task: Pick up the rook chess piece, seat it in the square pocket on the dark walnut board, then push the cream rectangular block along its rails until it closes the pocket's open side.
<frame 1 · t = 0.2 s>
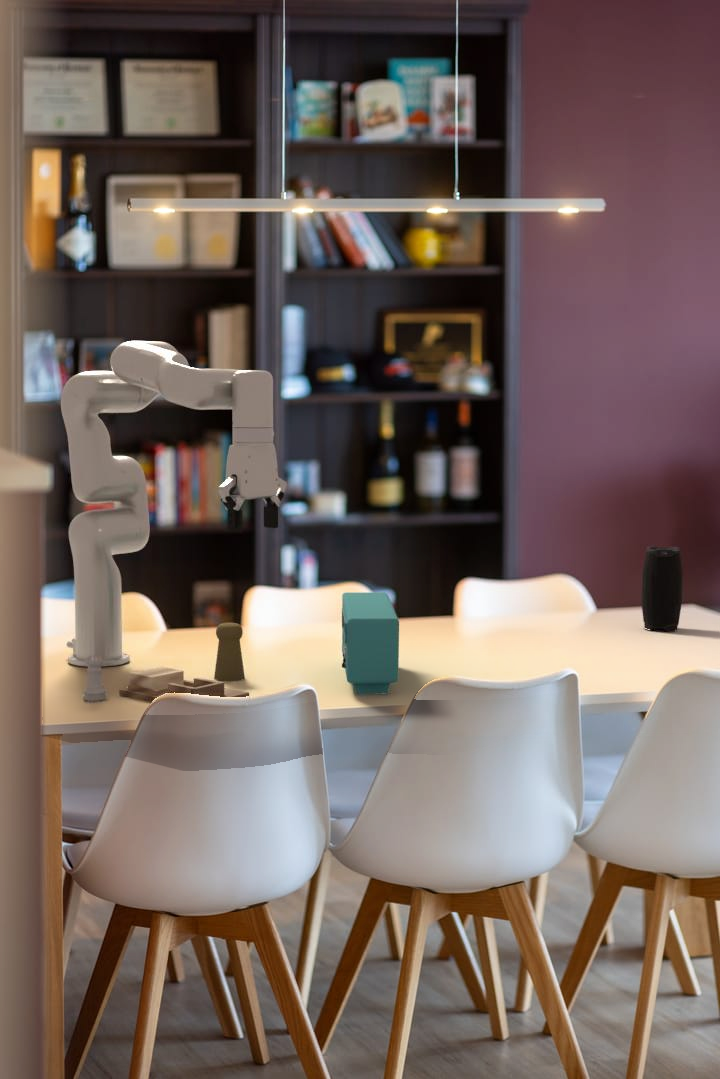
hand: (253, 529, 276), 31 cm above the table, fingers open, 9 cm apart
cork: (229, 679, 293), on the table
radio: (366, 680, 292), on the table
cream rectangular block: (156, 679, 278), point 3 cm above the table, slide at 0.0 cm
portable speaker: (660, 630, 352), on the table
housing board: (184, 697, 275), on the table
rook chess piece: (94, 700, 273), on the table
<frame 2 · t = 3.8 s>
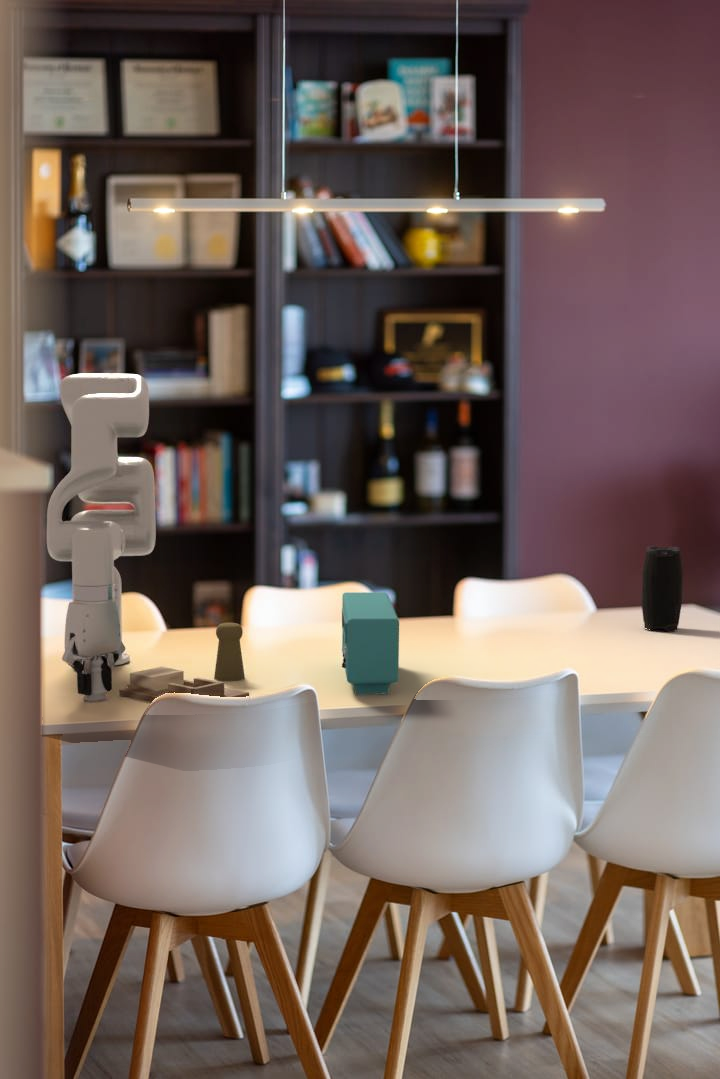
hand: (94, 691, 273), 2 cm above the table, fingers closed on rook chess piece, 4 cm apart
rook chess piece: (94, 700, 273), on the table, touching gripper
everything else where it was.
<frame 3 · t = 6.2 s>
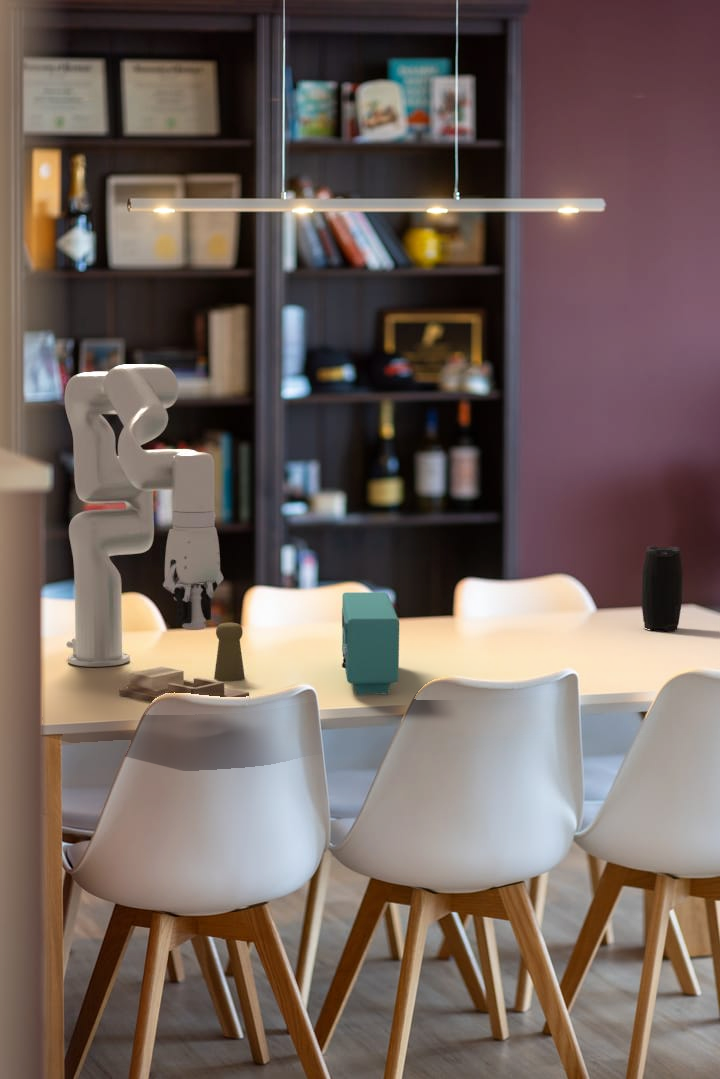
hand: (194, 619, 270), 15 cm above the table, fingers closed on rook chess piece, 4 cm apart
rook chess piece: (194, 629, 270), point 13 cm above the table, touching gripper
everything else where it was.
when the fingers open (4 cm above the table, at t = 8.5 s): rook chess piece drops 1 cm, resting on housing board.
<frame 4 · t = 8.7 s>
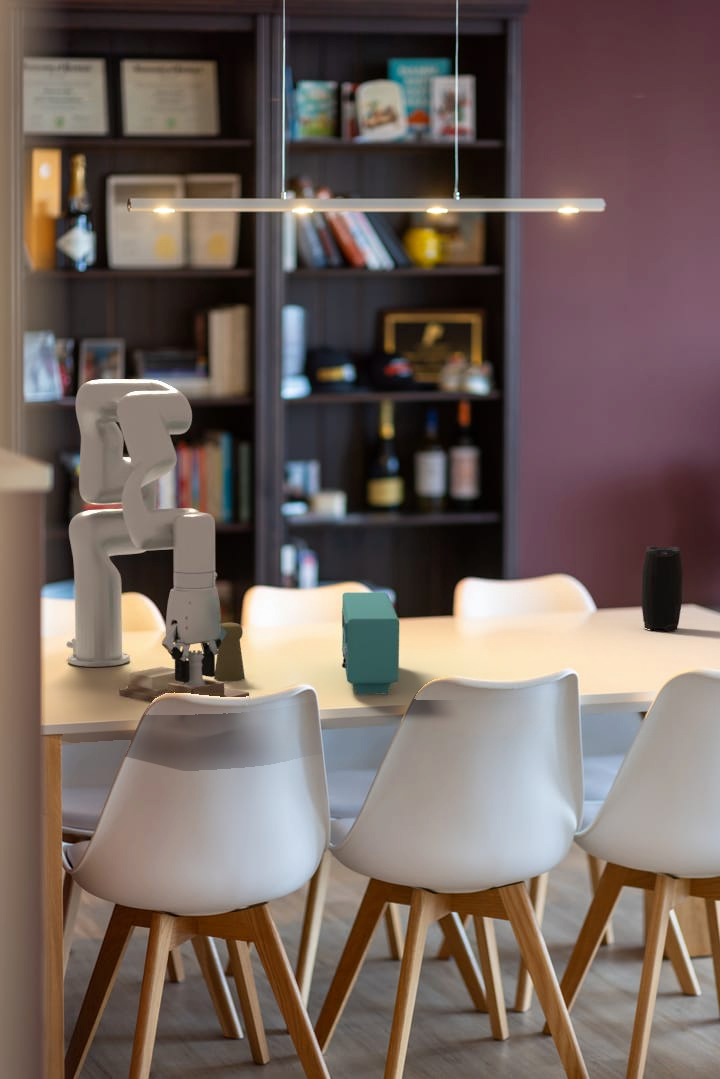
hand: (195, 677, 271), 4 cm above the table, fingers open, 5 cm apart
rook chess piece: (194, 695, 272), point 1 cm above the table, touching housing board
everything else where it was.
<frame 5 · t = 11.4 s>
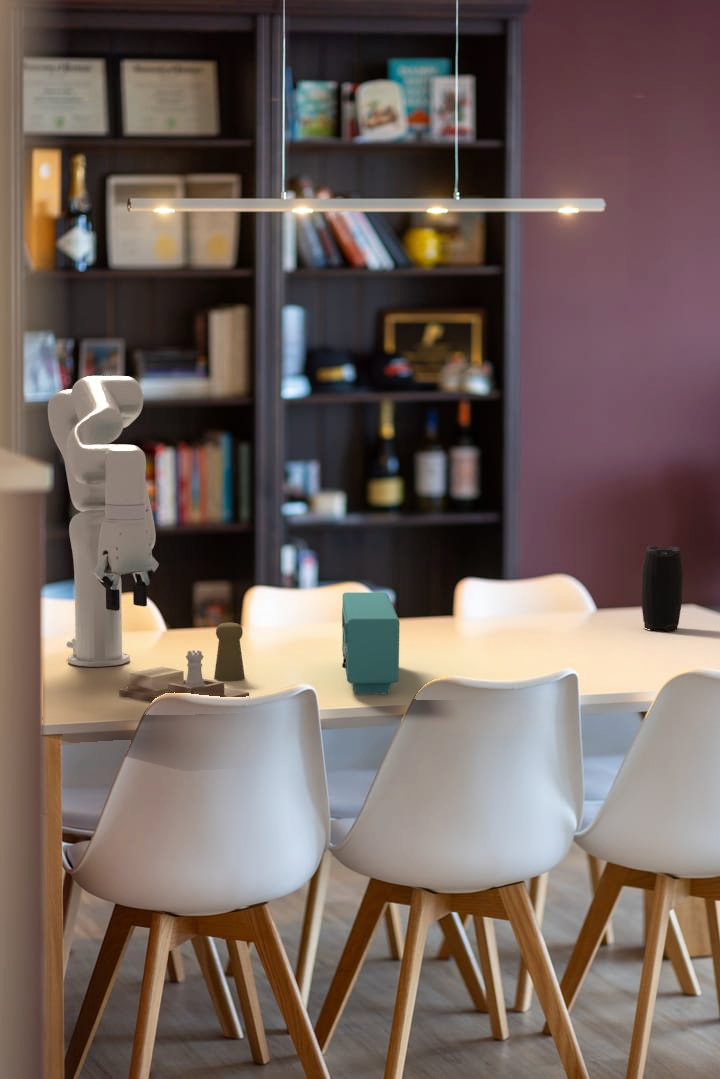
hand: (126, 606, 282), 16 cm above the table, fingers open, 6 cm apart
nothing on the table moved.
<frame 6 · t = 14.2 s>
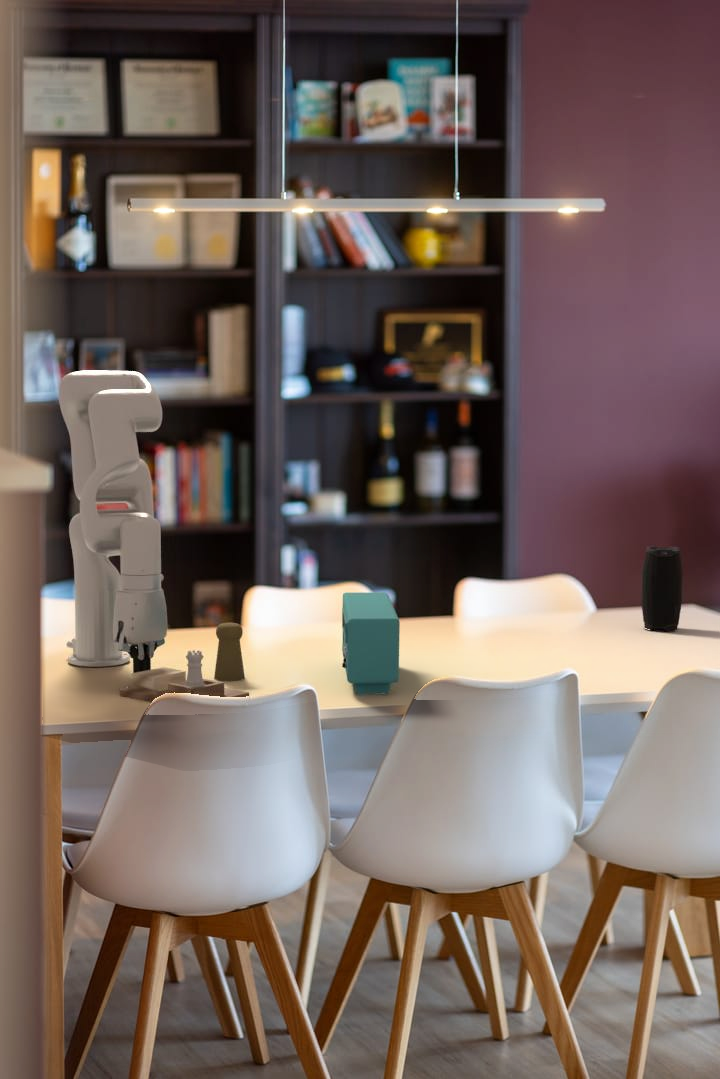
hand: (142, 678, 280), 2 cm above the table, fingers closed
cream rectangular block: (158, 679, 277), point 3 cm above the table, slide at 0.6 cm, touching gripper
everything else where it was.
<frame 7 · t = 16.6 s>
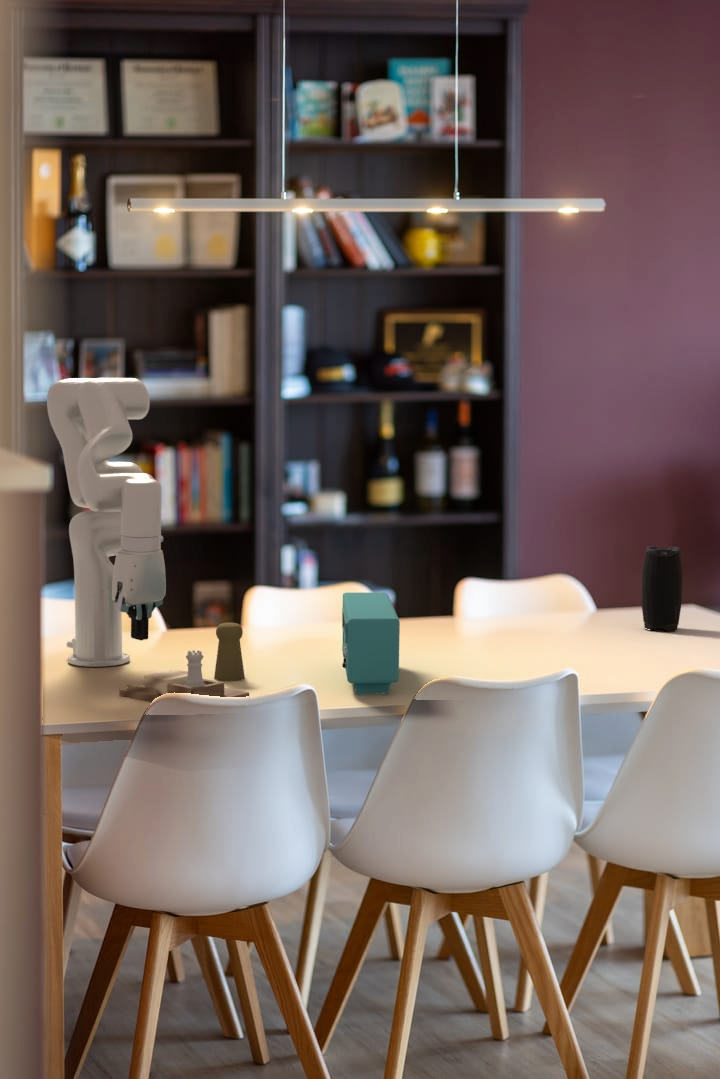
hand: (139, 638, 283), 9 cm above the table, fingers closed
cream rectangular block: (171, 682, 275), point 3 cm above the table, slide at 4.0 cm, touching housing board
everything else where it was.
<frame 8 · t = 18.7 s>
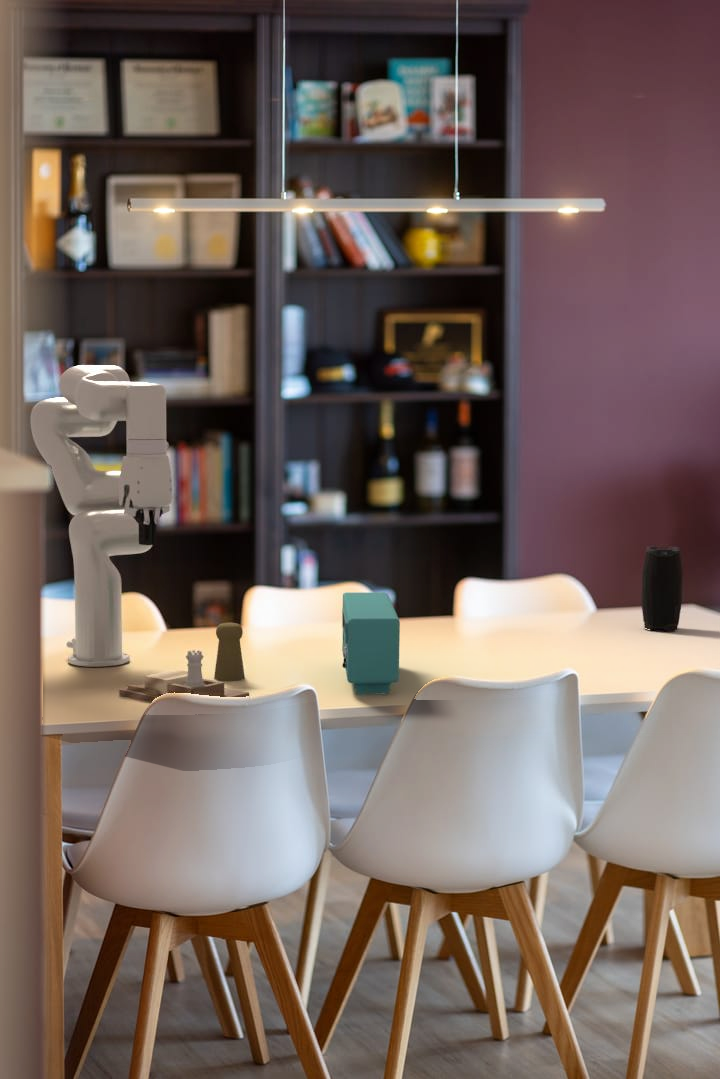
hand: (147, 544, 284), 27 cm above the table, fingers closed
nothing on the table moved.
at the end: rook chess piece 0.2 cm from the target spot on the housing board, point 1.0 cm above the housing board's base; rook chess piece tilted 0°; cream rectangular block slide at 4.0 cm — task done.
